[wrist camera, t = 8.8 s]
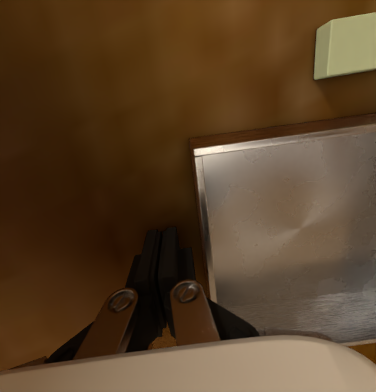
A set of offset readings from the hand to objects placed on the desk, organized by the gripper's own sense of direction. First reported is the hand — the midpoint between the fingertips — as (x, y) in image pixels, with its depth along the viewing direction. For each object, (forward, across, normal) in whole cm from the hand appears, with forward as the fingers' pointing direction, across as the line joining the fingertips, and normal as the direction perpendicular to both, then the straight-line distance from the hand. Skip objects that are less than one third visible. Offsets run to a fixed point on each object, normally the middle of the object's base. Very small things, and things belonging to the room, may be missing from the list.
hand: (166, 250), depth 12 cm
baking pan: (+1, -8, 0) cm, 8 cm away
